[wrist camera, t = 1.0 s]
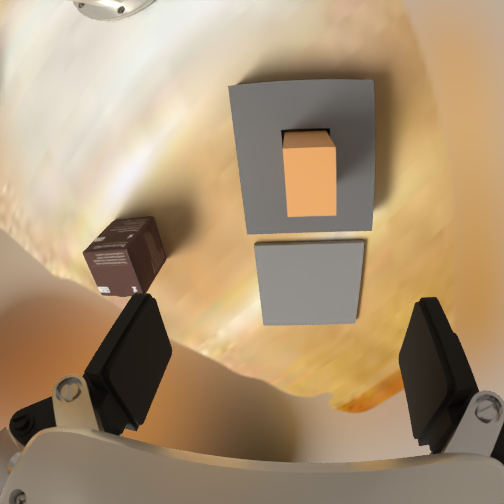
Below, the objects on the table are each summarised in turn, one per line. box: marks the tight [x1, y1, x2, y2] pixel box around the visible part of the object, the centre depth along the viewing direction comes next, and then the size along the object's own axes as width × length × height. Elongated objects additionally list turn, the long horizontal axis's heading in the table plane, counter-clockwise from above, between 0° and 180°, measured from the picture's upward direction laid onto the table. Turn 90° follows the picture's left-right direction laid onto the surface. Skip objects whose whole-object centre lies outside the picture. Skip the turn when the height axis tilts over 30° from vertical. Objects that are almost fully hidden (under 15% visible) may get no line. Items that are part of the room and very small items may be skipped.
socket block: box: [228, 79, 375, 234], centre depth 27 cm, size 14×12×4 cm
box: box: [83, 217, 166, 297], centre depth 34 cm, size 6×6×7 cm
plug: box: [283, 128, 336, 217], centre depth 25 cm, size 5×4×9 cm
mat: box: [254, 240, 364, 325], centre depth 37 cm, size 12×12×1 cm
